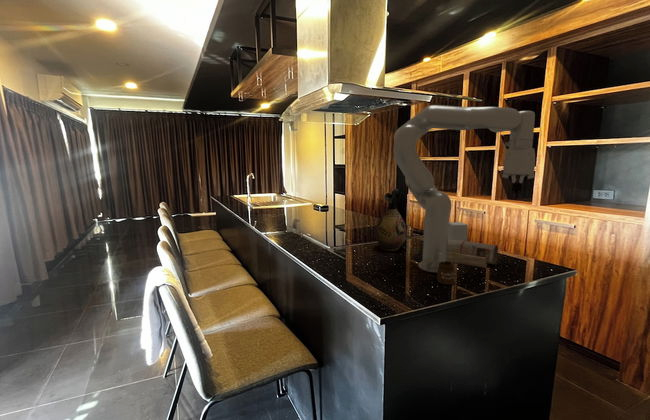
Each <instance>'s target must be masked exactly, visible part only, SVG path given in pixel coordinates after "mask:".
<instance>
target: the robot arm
mask: <svg viewBox="0 0 650 420" xmlns="http://www.w3.org/2000/svg"><path fill="white" fill-rule="evenodd" d="M535 117H536V114H535V112H534V111H532V110H520V111H518V109H515V108H512V107H503V106H502V107H501V106H499V107H498V106H455V105H442V104H430V105H427V106H426V107H424V108H423V109H421V110H420V111H419V112H418V113H416V114H415V115H414V116H413V117H412V118H411V119H409V120H407V121H406V122H405V123H404V124H402V125H401V126H400V127H398V129H396V131H395V132H394V134H393V141H394V143H393V150H392V151H393V158H394V161H395V162H396V165H397V166H398V168H399V169H400V171H401V172H402V175H404V177H405V178H404V179H405V184H406V186H407V188H408V190H409V191H410V193H411V194H412V196H413V197H414V198H415V200H416V201H417V203H418V204H419V206H420V207H421V208H422V209H423V210H424V217H423V218H424V219H423V229H422V230H423V236H422V237H423V239H422V260H421V261H420V262H419V263H418V268H419V269H421V270H422V271H425V272H428V273H434V274H435V273H436V274H437V270H438V267H439V261H440V262H442V261H447V256H448V233H449V223H450V218H451V212H452V200H451V198H450V196H449V194H447V193H445V192H444V191H441V190H439V189H437V187H436V186H435V184H434V182H435V179H434V176H433V174H432V172H431V171H430V170H429V169H428V168H427V166H426V164H425V163H424V162H423V160H422V158H420V156H419V153H418V152H417V142H418V141H419V139H420V138H421V137H423V136H424V135H425V134H427V133H428V132H429V131H431V129H441V130H455V131H469V130H477V129H478V130H479V129H488V130H489V131H491V132H493V133H503V132H509V140H508V142H504V146H505V147H508V148H507V149H506V151H505V153H504V159H503V167H502V176H501V177H502V178H505V179H509V181H510V182H511V183H512V187H511V188H512V192H513V193H514V194H520V192H522V189H523V183H524V182H525V181H527V180H529V179H534V178H535V177H536V176H535V167H536V165H535V164H536V152H535V148H533V143H534V131H535V119H536V118H535ZM517 176H519V180H518V181H517ZM441 252H442V253H441ZM440 253H441V254H440ZM442 254H443V256H442ZM444 255H445V256H444ZM438 257H439V258H438Z"/></svg>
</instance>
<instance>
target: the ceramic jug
mask: <svg viewBox="0 0 650 420" xmlns="http://www.w3.org/2000/svg"><path fill="white" fill-rule="evenodd" d="M400 197H401V191H400V189H398V188H396V189H393V190H392V191H391V193H389V192H387V193H385V194H384V200H385V201H386V202H388V203H389V206H388V207H387V209H386V210H385V211H384V213H383V214H382V215H381V216H380V218H379V220H378V222H377V224H376V227H375V230H374V231H375V232H374V236H375V240H376V242H377V244H378V245H379V249H380V250H382V251H385V252H396V251H399V250H398V249H400V247H401V246H402V245H403V244H404V243H405V241H406V240H407V239H406V238H407V236H408V235H407V226H406V223H405V220H404V219H403V217H402V215H401V214H400V212H399V211H398V207H399V202H400V199H401V198H400Z"/></svg>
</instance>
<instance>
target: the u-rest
mask: <svg viewBox="0 0 650 420" xmlns="http://www.w3.org/2000/svg"><path fill="white" fill-rule="evenodd" d="M452 255H453V253H451V252H448V256H447V262H452ZM452 263H453V264H459V265H465V266H470V267H471V266H472V267H477V268H482V269H483V268H487V266H488V264H489V263H486V257H479V256H472V255H465V254H458V253H456V255H455V258H454V259H453V262H452Z"/></svg>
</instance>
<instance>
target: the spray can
mask: <svg viewBox="0 0 650 420" xmlns="http://www.w3.org/2000/svg"><path fill="white" fill-rule="evenodd" d="M454 249H455V250H457V252H456V253H458V254H465V255H472V256H479V257H486V263H488V264H491V265H496V264H497V259H498V253H499V246H498V244H496V245H493V244H489V243H481V242H473V241H468V240H467V241H459V240H449V241H448V252H451V253H453V252H454Z"/></svg>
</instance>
